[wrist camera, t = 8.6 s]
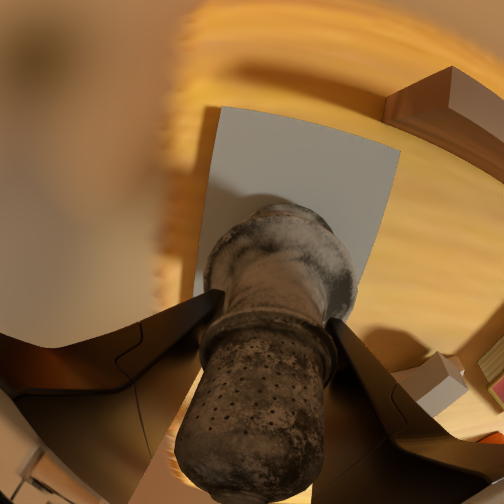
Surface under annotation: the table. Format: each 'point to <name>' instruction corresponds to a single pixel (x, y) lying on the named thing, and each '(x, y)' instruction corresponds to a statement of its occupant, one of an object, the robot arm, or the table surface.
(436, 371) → the top offcut
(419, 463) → the robot arm
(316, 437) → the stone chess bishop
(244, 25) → the table surface
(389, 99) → the long thin taupe batten
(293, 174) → the slate mat
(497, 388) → the hardcover book
